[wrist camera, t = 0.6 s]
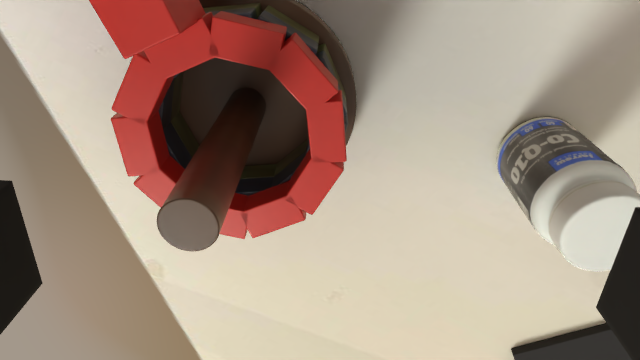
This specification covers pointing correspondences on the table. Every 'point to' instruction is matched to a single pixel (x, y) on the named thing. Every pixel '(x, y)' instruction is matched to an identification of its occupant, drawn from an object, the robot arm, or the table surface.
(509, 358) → the table surface
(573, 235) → the pill bottle
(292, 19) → the ring stand
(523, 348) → the rubber mat
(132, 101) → the red ring
